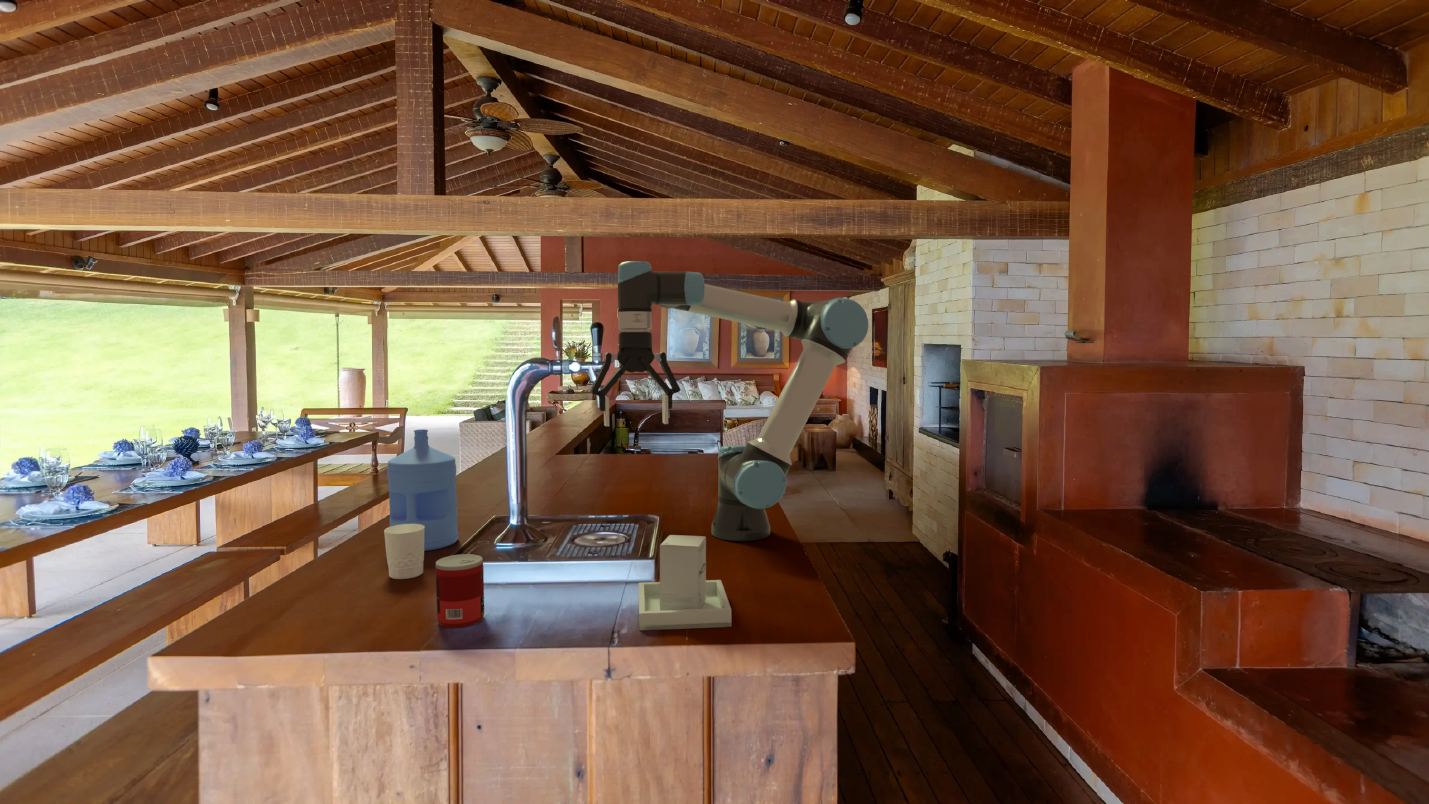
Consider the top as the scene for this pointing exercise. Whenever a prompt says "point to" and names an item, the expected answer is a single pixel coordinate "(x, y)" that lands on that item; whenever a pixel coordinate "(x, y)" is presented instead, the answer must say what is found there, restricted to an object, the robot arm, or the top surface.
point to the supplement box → (682, 572)
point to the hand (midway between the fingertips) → (636, 424)
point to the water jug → (424, 492)
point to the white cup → (405, 550)
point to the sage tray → (708, 616)
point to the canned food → (460, 590)
